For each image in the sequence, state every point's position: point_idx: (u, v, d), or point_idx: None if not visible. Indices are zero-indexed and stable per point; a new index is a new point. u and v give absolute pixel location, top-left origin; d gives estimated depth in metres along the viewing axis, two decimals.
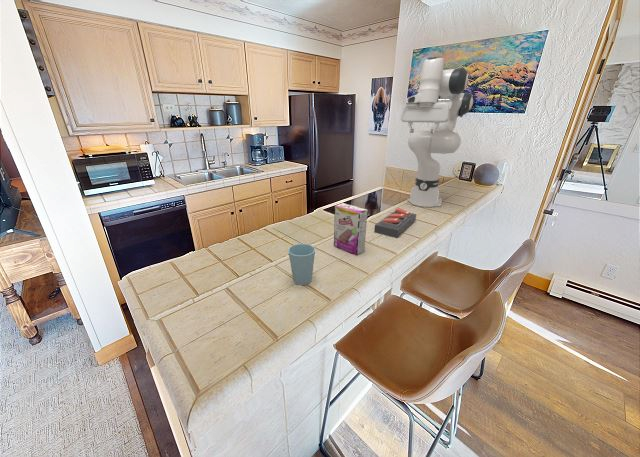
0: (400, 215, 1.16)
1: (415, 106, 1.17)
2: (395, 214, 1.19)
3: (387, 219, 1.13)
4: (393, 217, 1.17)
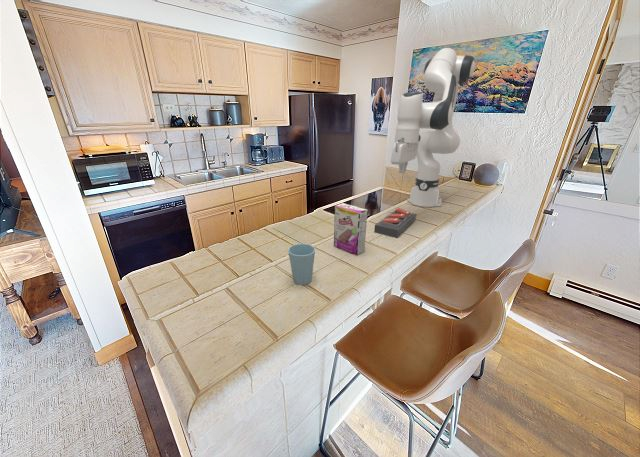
0: (400, 215, 1.16)
1: None
2: (395, 214, 1.19)
3: (387, 219, 1.13)
4: (393, 217, 1.17)
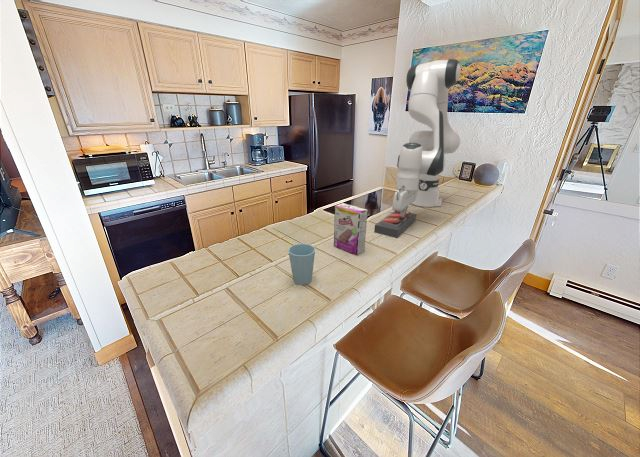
0: None
1: None
2: (395, 214, 1.19)
3: (387, 219, 1.13)
4: (393, 217, 1.17)
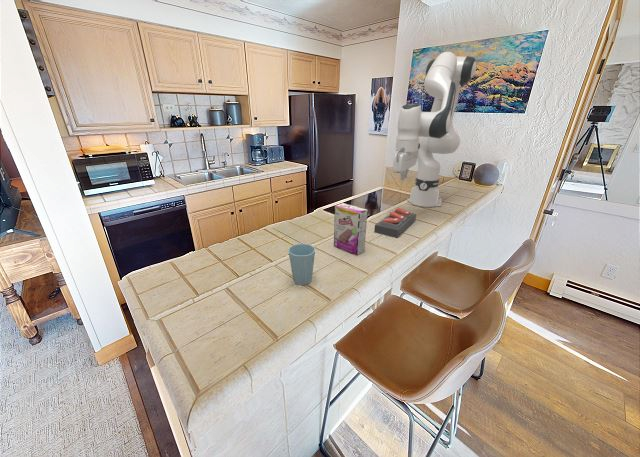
0: (400, 217, 1.16)
1: None
2: (396, 213, 1.19)
3: (387, 219, 1.13)
4: (393, 216, 1.17)
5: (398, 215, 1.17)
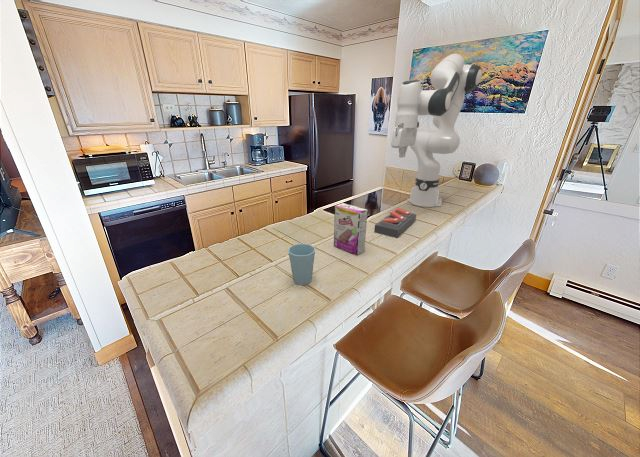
0: (400, 217, 1.16)
1: None
2: (396, 213, 1.18)
3: (387, 219, 1.13)
4: (393, 216, 1.17)
5: (398, 215, 1.17)
